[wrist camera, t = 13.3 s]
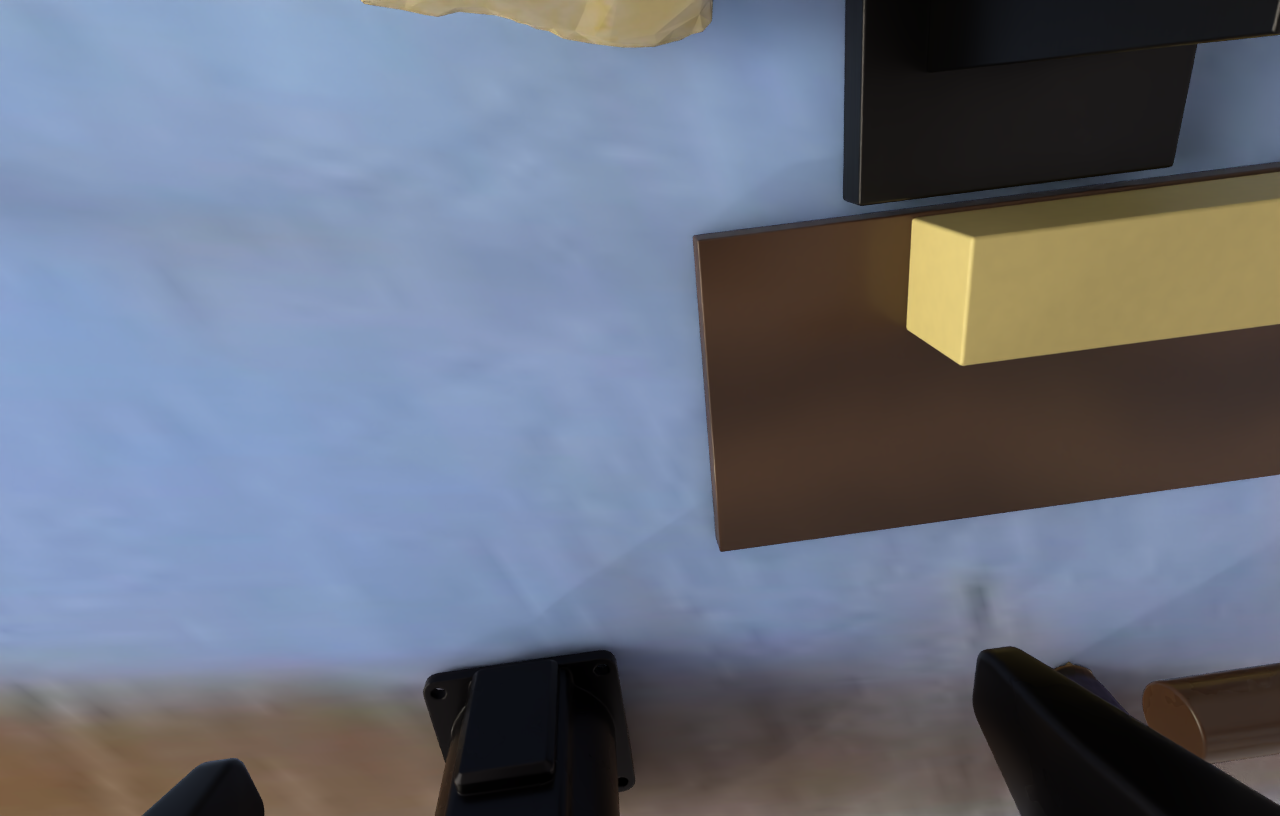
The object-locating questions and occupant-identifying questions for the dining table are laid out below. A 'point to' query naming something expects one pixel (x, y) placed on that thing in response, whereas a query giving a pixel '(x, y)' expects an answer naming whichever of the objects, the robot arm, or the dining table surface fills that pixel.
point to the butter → (1097, 270)
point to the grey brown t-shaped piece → (1219, 712)
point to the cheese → (584, 17)
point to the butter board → (944, 392)
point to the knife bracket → (1020, 89)
